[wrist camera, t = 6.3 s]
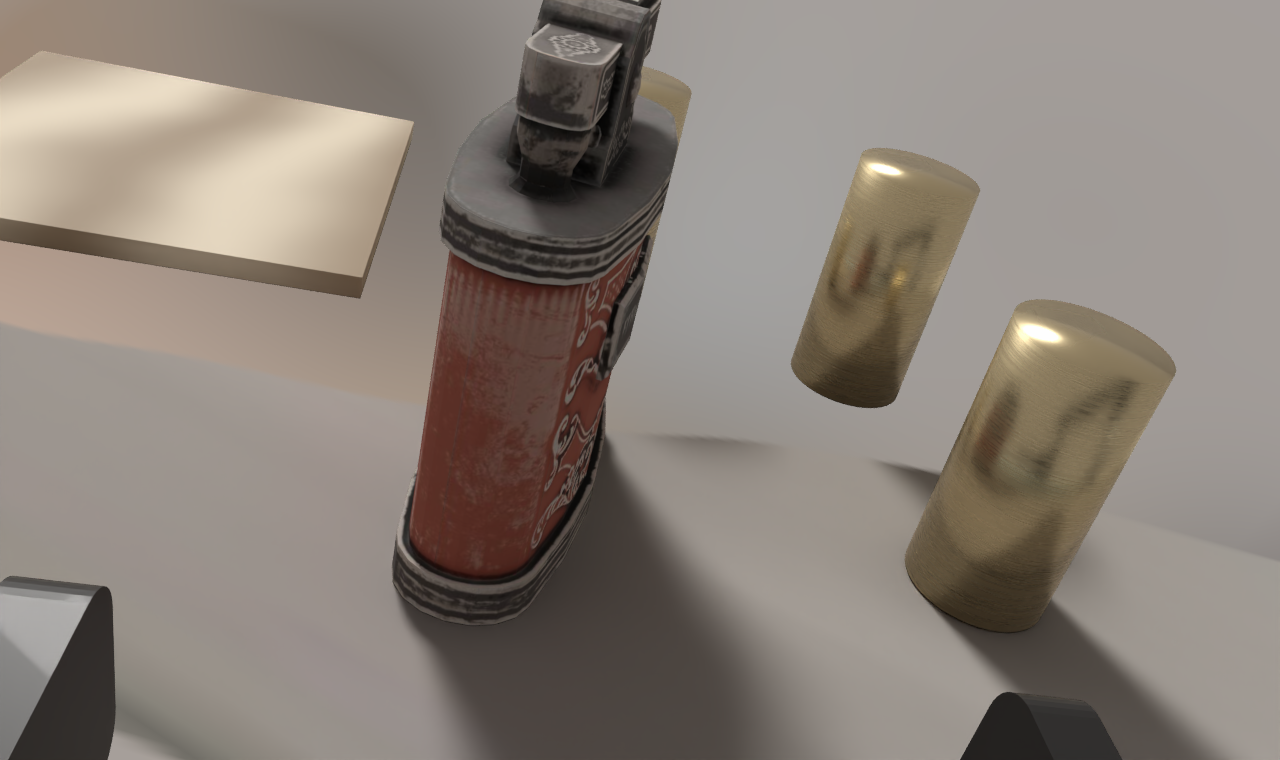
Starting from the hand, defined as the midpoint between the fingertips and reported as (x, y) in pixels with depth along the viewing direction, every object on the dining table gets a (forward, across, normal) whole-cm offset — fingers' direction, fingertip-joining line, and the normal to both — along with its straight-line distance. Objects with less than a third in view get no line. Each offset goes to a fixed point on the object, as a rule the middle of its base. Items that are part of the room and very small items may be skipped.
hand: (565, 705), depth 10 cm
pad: (+24, +10, +6) cm, 27 cm away
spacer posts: (+16, -6, +6) cm, 18 cm away
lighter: (+11, 0, +6) cm, 13 cm away
